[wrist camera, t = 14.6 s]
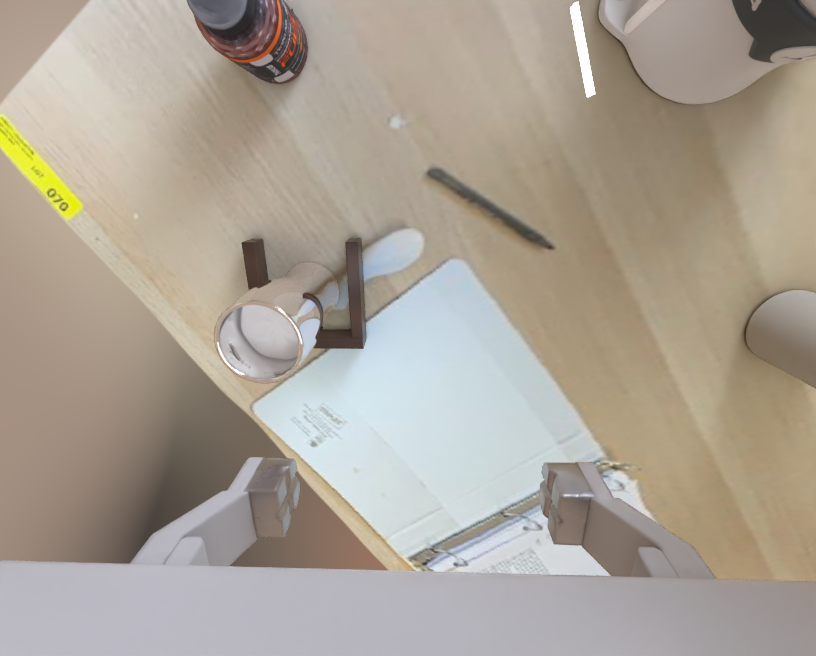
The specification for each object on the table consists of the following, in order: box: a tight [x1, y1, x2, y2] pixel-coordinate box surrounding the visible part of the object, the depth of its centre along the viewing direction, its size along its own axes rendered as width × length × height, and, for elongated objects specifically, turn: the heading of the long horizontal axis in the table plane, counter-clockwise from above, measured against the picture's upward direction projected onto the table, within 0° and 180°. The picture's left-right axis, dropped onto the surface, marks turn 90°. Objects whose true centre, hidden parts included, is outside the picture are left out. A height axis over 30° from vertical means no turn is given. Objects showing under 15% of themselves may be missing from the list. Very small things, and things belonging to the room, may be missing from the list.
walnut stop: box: [242, 238, 366, 349], centre depth 43 cm, size 11×11×2 cm
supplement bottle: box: [187, 0, 308, 84], centre depth 31 cm, size 6×6×11 cm
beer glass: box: [214, 262, 339, 383], centre depth 37 cm, size 7×7×15 cm
